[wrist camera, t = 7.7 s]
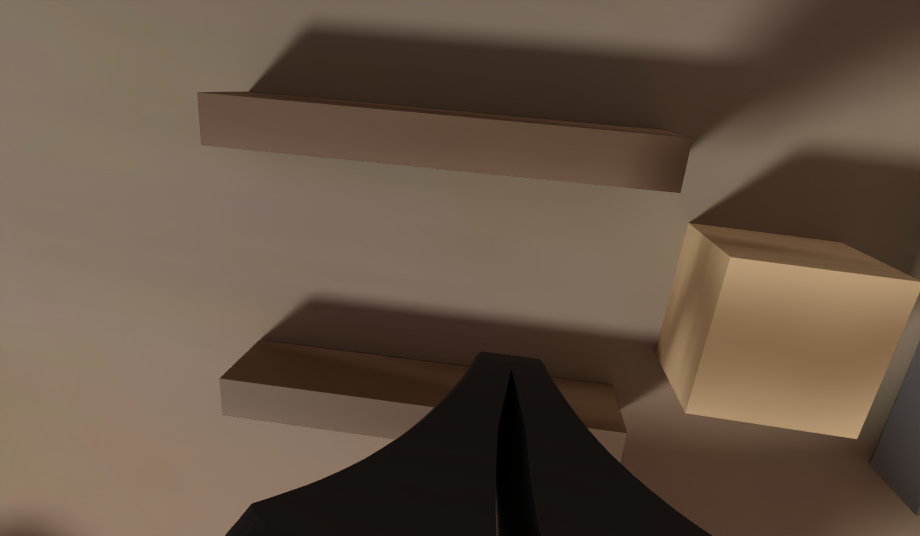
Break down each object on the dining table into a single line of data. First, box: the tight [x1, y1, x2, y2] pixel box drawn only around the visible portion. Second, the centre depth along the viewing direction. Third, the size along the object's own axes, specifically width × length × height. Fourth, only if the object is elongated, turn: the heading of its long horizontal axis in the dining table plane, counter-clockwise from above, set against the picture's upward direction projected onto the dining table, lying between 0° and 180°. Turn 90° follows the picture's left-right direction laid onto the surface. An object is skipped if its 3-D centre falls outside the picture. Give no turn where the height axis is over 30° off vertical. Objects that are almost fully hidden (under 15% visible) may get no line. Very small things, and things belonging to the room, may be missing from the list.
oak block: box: [655, 223, 920, 439], centre depth 17 cm, size 5×5×4 cm
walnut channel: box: [197, 92, 692, 463], centre depth 18 cm, size 11×14×3 cm
